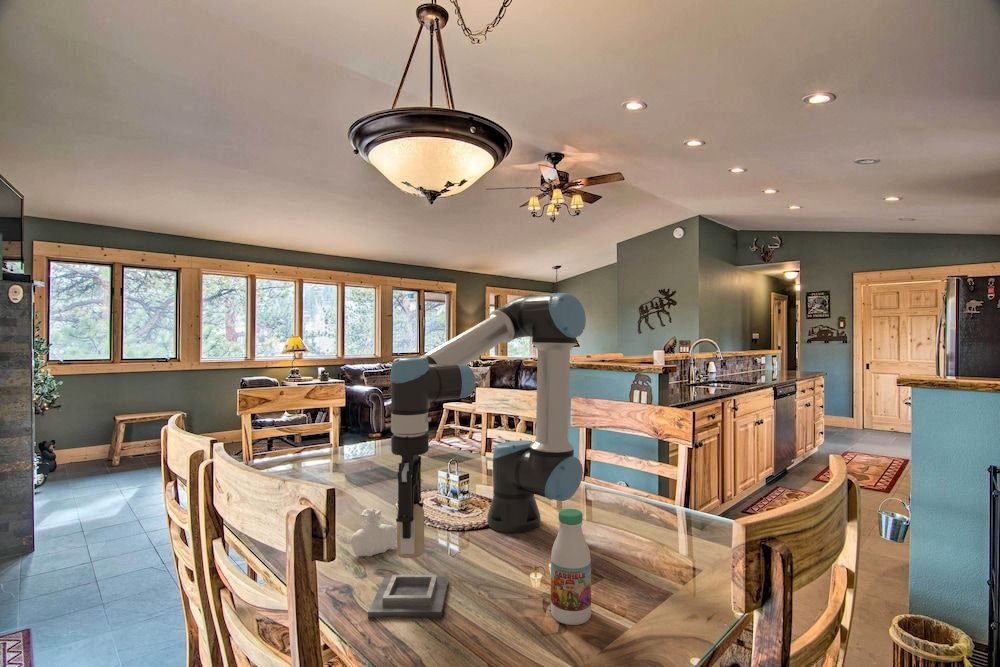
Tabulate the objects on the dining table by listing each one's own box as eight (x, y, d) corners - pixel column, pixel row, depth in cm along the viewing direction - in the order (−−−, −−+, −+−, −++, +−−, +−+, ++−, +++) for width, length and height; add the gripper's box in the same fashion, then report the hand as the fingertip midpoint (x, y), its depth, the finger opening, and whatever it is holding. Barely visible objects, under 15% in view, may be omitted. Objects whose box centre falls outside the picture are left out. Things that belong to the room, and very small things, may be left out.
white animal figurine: (394, 553, 133) (383, 511, 138) (404, 542, 128) (392, 499, 133) (349, 566, 126) (338, 521, 131) (358, 555, 121) (347, 509, 126)
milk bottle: (547, 605, 103) (547, 505, 103) (585, 603, 104) (585, 504, 104) (555, 627, 96) (554, 520, 95) (595, 625, 96) (595, 518, 96)
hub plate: (448, 582, 113) (448, 569, 113) (441, 618, 99) (440, 604, 99) (384, 582, 113) (384, 569, 113) (368, 618, 99) (367, 604, 99)
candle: (428, 548, 108) (427, 500, 108) (418, 559, 102) (417, 509, 102) (403, 546, 109) (403, 498, 109) (392, 557, 104) (392, 507, 104)
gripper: (421, 443, 96) (421, 567, 96) (434, 424, 115) (434, 528, 115) (381, 443, 96) (381, 567, 96) (400, 424, 115) (400, 528, 115)
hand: (410, 546), depth 106 cm, fingers closed on candle, 5 cm apart
